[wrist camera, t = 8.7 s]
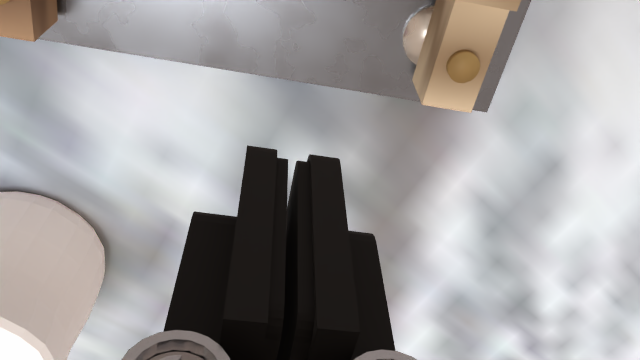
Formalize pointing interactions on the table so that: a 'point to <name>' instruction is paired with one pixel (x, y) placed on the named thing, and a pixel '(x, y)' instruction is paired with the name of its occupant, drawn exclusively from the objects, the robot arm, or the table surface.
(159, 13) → the strip
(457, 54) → the sliding jaw
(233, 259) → the robot arm
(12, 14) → the rail
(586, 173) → the table surface
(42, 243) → the cup
